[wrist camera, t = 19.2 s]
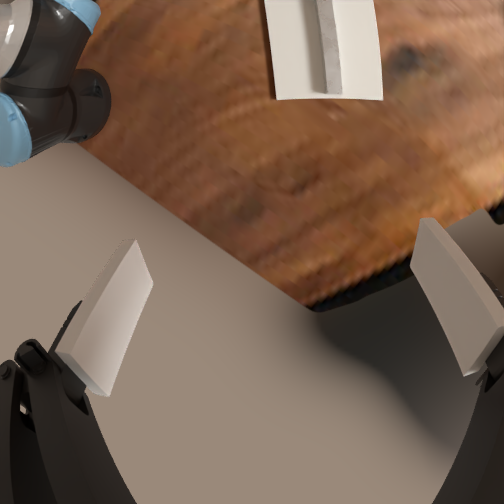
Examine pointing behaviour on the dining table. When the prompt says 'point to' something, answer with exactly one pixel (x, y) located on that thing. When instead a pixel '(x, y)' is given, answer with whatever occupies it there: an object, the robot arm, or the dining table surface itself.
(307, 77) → the mat
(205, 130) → the dining table surface
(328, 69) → the brushed metal bar
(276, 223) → the dining table surface
